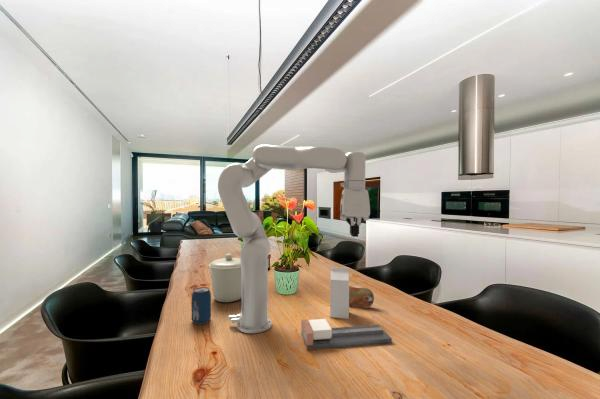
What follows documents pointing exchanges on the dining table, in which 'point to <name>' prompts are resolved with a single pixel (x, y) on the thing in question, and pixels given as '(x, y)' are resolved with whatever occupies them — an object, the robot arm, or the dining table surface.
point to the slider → (320, 329)
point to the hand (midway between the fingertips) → (354, 236)
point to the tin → (360, 297)
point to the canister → (226, 278)
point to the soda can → (201, 305)
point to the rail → (346, 337)
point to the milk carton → (339, 292)
